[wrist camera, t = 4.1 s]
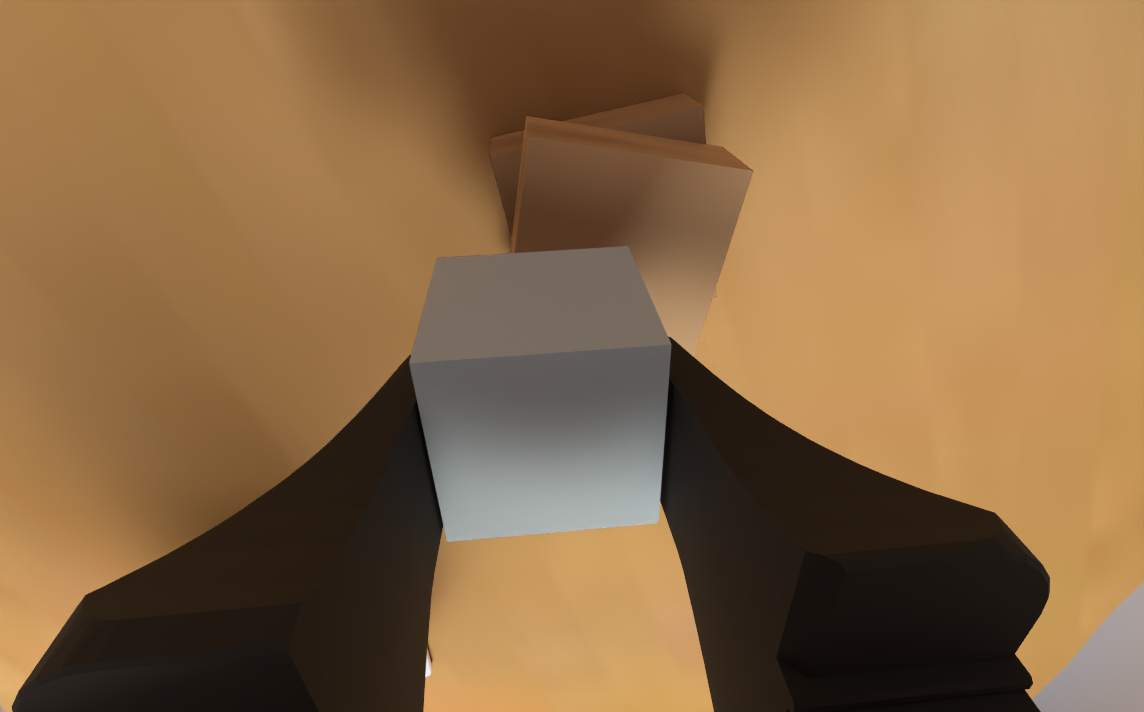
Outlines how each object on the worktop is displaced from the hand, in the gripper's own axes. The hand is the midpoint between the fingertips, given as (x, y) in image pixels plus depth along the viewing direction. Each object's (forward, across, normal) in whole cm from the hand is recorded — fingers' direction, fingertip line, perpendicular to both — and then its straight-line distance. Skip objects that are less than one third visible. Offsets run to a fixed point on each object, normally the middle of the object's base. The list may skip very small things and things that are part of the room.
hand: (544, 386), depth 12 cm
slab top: (+7, -2, -1) cm, 7 cm away
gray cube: (+2, 0, 0) cm, 2 cm away
